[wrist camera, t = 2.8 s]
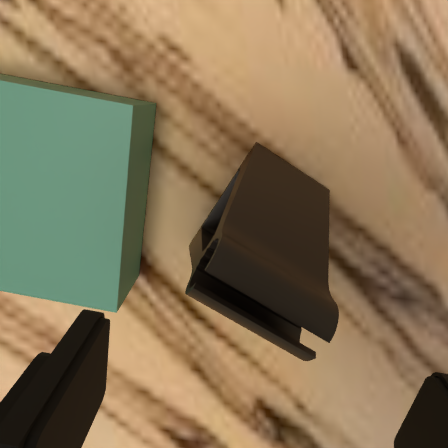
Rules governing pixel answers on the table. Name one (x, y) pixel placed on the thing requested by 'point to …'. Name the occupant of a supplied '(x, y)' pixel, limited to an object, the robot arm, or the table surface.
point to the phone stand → (268, 254)
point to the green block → (72, 191)
